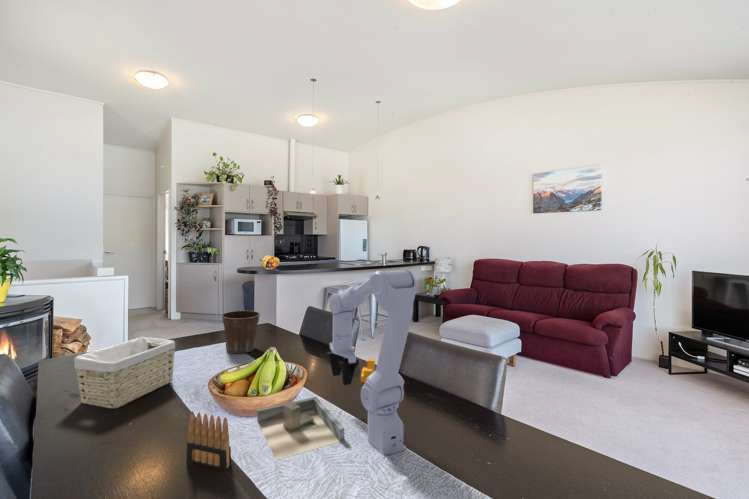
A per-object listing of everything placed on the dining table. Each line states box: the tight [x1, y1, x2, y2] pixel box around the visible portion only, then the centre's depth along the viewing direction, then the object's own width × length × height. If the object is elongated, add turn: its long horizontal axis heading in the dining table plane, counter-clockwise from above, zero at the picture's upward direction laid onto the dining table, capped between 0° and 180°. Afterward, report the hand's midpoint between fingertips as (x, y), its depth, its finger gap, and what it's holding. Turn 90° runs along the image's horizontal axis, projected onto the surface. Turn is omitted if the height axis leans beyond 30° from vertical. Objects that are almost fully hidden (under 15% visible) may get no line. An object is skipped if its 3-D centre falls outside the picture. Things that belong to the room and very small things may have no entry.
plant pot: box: [221, 310, 261, 354], centre depth 165 cm, size 16×16×16 cm
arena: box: [256, 396, 345, 461], centre depth 97 cm, size 20×17×4 cm
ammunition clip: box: [186, 410, 232, 471], centre depth 82 cm, size 11×2×12 cm, turn 73°
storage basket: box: [73, 336, 176, 409], centre depth 120 cm, size 24×16×15 cm
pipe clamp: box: [360, 358, 376, 386], centre depth 131 cm, size 12×4×6 cm, turn 175°
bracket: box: [283, 401, 314, 432], centre depth 99 cm, size 7×4×6 cm, turn 137°
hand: (341, 379), depth 109 cm, fingers open, 7 cm apart
